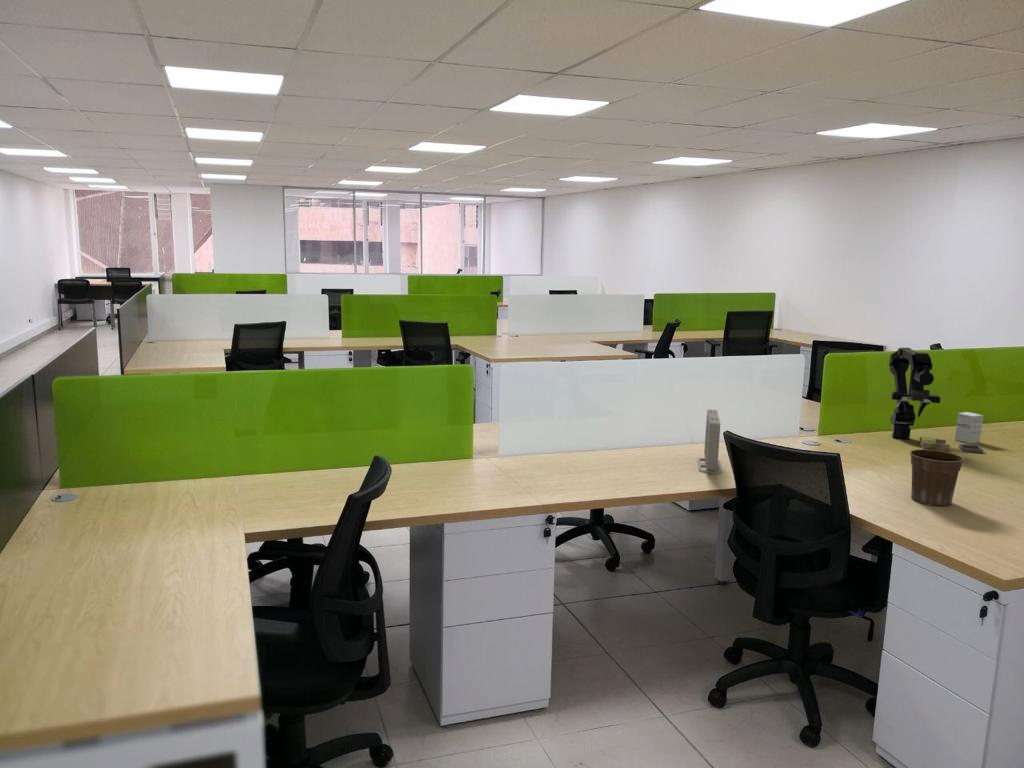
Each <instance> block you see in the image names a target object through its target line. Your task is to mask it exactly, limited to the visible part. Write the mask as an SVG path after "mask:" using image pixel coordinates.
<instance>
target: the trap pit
mask: <svg viewBox="0 0 1024 768" xmlns="http://www.w3.org/2000/svg"><path fill="white" fill-rule="evenodd" d="M958 448H959V449H960V451H962V452H965V453H975V454H977V453H978V454H984V449H983V447H981V446H980V445H975V444H965V443H964V444H963V443H959V444H958Z"/></svg>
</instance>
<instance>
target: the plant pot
mask: <svg viewBox="0 0 1024 768" xmlns="http://www.w3.org/2000/svg"><path fill="white" fill-rule="evenodd" d="M909 455H910V465H911V493H910V495H911V496H910V497H911V499H912V498H913V499H912V500H914V501H915V502H917V501H918V502H917V503H920V502H921V503H920V504H923V503H925V504H924V505H927V504H931V505H930V506H935V505H937V506H938V505H940V506H941V505H942V507H947V505H948V506H951V504H952V503H953V497H954V493H955V489H956V485H957V481H958V476H959V472H960V471H961V467H962V464H963V462H964V461H965V458H964V457H963V456H961V455H958V454H957V453H952V452H950V451H944V450H933V449H923V448H922V449H920V448H919V449H913V450H910V451H909Z"/></svg>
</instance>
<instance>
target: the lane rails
mask: <svg viewBox="0 0 1024 768" xmlns="http://www.w3.org/2000/svg"><path fill="white" fill-rule="evenodd" d="M921 437H922V436H921ZM921 437H919V441H918V443H919V444H921ZM935 440H936V443H928V442H923V447H922V446H921V447H922V449H925V450H936V451H943V452H950V446H951V445H950V444H947V442H946V438H945V439H944V438H935Z"/></svg>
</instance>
